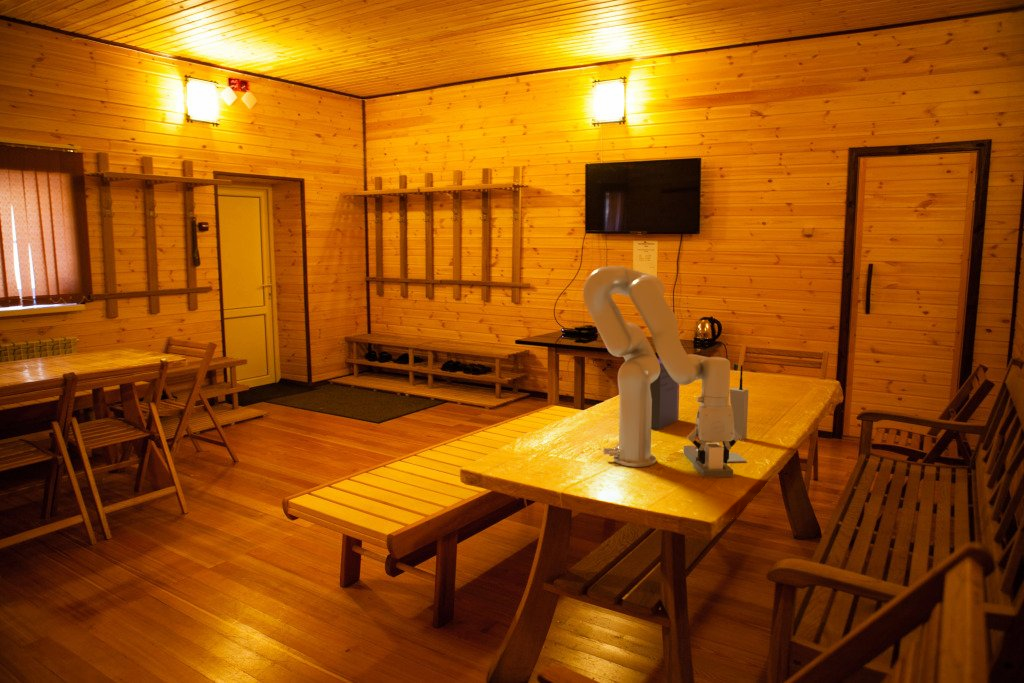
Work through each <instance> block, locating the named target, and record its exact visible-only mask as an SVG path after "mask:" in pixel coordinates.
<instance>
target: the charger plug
mask: <svg viewBox="0 0 1024 683" xmlns="http://www.w3.org/2000/svg"><path fill="white" fill-rule="evenodd" d="M704 450H705V464H703V465H704V466H705V467H706V468H707V469H723V451H724V448H723V446H722V445H721V444H720V443H719V442H706V444H705V447H704Z"/></svg>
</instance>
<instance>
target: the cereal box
mask: <svg viewBox="0 0 1024 683" xmlns="http://www.w3.org/2000/svg"><path fill="white" fill-rule="evenodd" d="M657 359H658V361H659V364H660V374H659V376H658V378H657V379H656V380H655V381H654V382H653V383H651V384H650V391H651V400H652V418H651V430H653V429H655V430H654V431H661V430H662V428H663V429H664V427H665V428H667V427H668V426H670V425H672V424H674V423H676V422H678V421H679V418H680V417H679V415H680V413H679V412H680V410H679V408H680V384H678V383H677V382H675V381H674V380H673V379H672V378H671V377H670V375H669V374H668V372H667V370H666V369H665V367H664V365H663V364H662V362H661V360H660V358H657ZM677 420H678V421H677ZM675 421H676V422H675ZM666 426H667V427H666ZM660 429H661V430H660Z"/></svg>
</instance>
